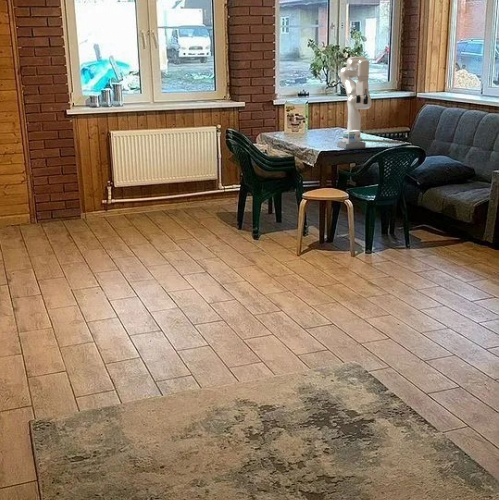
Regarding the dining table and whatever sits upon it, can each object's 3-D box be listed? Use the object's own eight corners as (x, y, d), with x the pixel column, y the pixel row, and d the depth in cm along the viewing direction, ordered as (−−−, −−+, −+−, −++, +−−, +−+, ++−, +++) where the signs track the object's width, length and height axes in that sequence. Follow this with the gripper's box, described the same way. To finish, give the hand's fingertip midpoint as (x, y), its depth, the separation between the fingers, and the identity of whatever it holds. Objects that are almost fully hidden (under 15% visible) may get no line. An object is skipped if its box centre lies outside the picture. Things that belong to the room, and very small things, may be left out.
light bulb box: (348, 147, 489) (349, 131, 486) (342, 146, 495) (342, 130, 491) (360, 146, 495) (361, 130, 492) (353, 144, 500) (354, 129, 497)
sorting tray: (337, 146, 497) (337, 141, 496) (356, 145, 502) (357, 140, 501) (345, 149, 487) (345, 144, 486) (365, 147, 492) (365, 142, 491)
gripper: (352, 77, 502) (351, 102, 507) (364, 79, 486) (363, 105, 492) (361, 77, 504) (360, 102, 510) (374, 79, 489) (373, 104, 494)
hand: (361, 103), depth 501 cm, fingers open, 9 cm apart
